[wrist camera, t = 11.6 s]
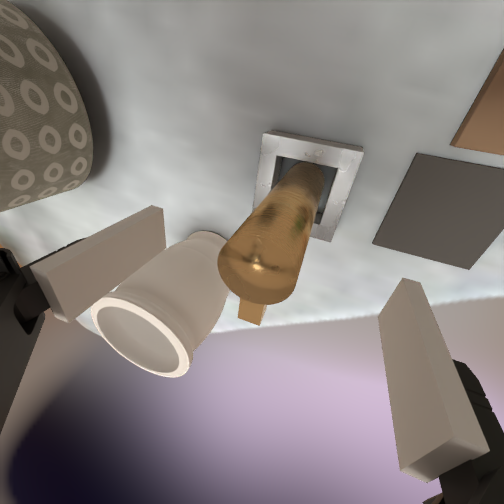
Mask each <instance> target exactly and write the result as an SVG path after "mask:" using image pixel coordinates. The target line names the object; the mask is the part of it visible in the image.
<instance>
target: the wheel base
mask: <svg viewBox="0 0 504 504" xmlns="http://www.w3.org/2000/svg"><path fill="white" fill-rule="evenodd" d="M450 145H451V146H454V147H459V148H464V149H470V150H476V151H482V152H487V153H493V154H499V155H504V49H503V51H502V53H501V55H500V56H499V58H498V60H497V62H496V63H495V65H494V67H493V69H492V71H491V72H490V74H489V76H488V78H487V80H486V81H485V83H484V85H483V87H482V88H481V90H480V92H479V94H478V96H477V97H476V99H475V101H474V103H473V105H472V106H471V108H470V110H469V112H468V113H467V115H466V117H465V119H464V121H463V122H462V124H461V126H460V128H459V129H458V131H457V133H456V135H455V137H454V138H453V140H452V142H451V144H450Z"/></svg>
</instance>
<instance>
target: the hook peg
mask: <svg viewBox="0 0 504 504" xmlns="http://www.w3.org/2000/svg"><path fill="white" fill-rule="evenodd" d="M323 188H324V175H323V173H322V171H321V170H320V169H319V167H317V166H316V165H314V164H312V163H308V162H302V163H298V164H296V165H294V166H293V167H292V168H291V169H290V170H289V171H288V172H287V173H286V174H285V175H284V177H283V178H282V179H281V180H280V181H279V182H278V184H277V185H276V186H275V187H274V188H273V189H272V190H271V192H270V193H269V194H268V195H267V196H266V197H265V199H264V200H263V201H262V202H261V203H260V204H259V205H258V207H257V208H256V209H255V210H254V211H253V212H252V214H251V215H250V216H249V217H248V218H247V219H246V220H245V222H244V223H243V224H242V225H241V226H240V227H239V229H238V230H237V231H236V232H235V233H234V234H233V236H232V237H231V238H230V239H229V240H228V241H227V242H226V244H225V245H224V246H223V247H222V249H221V250H220V252H219V255H218V260H217V266H218V271H219V274H220V276H221V278H222V280H223V282H224V283H225V284H226V286H227V287H228V288H229V289H230V290H231V291H232V292H233V293H235V294H236V295H237V296H239V297H240V304H239V312H238V318H240V319H242V320H245V321H248V322H250V323H253V324H256V325H259V326H260V323H261V321H262V318H263V316H264V313H265V311H266V307H267V305H271V304H276V303H279V302H282V301H283V300H285V299H287V298H288V297H289V296H290V295H291V294H292V292H293V291H294V288H295V286H296V282H297V279H298V275H299V272H300V268H301V265H302V261H303V258H304V254H305V251H306V247H307V244H308V240H309V237H310V233H311V230H312V226H313V223H314V219H315V216H316V212H317V209H318V205H319V202H320V198H321V195H322V191H323Z"/></svg>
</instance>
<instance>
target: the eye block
mask: <svg viewBox="0 0 504 504" xmlns="http://www.w3.org/2000/svg"><path fill="white" fill-rule="evenodd" d="M363 155H364V150H363V147H360V146H355V145H349V144H344V143H339V142H333V141H328V140H323V139H317V138H312V137H307V136H301V135H296V134H291V133H285V132H280V131H275V130H271V131H268V132H265V133H263V137H262V144H261V152H260V159H259V166H258V174H257V181H256V188H255V196H254V203H253V210H252V212H253V211H254V210H255V209H256V208H257V207H258V205H259V204H260V203H261V202H262V201H263V200H264V199H265V197H266V196H267V195H268V194H269V193H270V192H271V190H272V189H273V188H274V187H275V186H276V185H277V184H278V178H279V173H280V168H281V163H282V157H288V158H293V159H297V160H302V161H307V162H312V163H317V164H321V165H326V166H331V167H336V168H337V171H336V174H335V177H334V180H333V183H332V186H331V189H330V192H329V195H328V198H327V201H326V205H325V208H324V211H323V213H320V212H316V216H315V219H314V223H313V226H312V230H311V233H310V237H313V238H317V239H321V240H324V241H328V242H331V240H332V238H333V235H334V232H335V230H336V227H337V224H338V222H339V219H340V216H341V214H342V211H343V208H344V206H345V203H346V200H347V198H348V195H349V192H350V190H351V187H352V184H353V182H354V179H355V176H356V174H357V171H358V168H359V166H360V163H361V160H362V158H363Z"/></svg>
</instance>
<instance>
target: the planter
mask: <svg viewBox="0 0 504 504" xmlns="http://www.w3.org/2000/svg"><path fill="white" fill-rule="evenodd" d="M92 161H93V139H92V132H91V127H90V123H89V118H88V115H87V112H86V109H85V105H84V103H83V100H82V97H81V95H80V93H79V90H78V88H77V86H76V84H75V82H74V80H73V78H72V76H71V74H70V72H69V70H68V68H67V67H66V65H65V63H64V61H63V60H62V58H61V57H60V55H59V54H58V52H57V51H56V49H55V48H54V46H53V45H52V44H51V42H50V41H49V40H48V38H47V37H46V36H45V35H44V33H43V32H42V31H41V30H40V29H39V28H38V27H37V26H36V24H35V23H34V22H33V21H32V20H31V19H30V18H29V17H28V16H26V15H25V14H24V13H23V12H22V11H21V10H19V9H18V8H17V7H16V6H14V5H13V4H11V3H10V2H9V1H7V0H0V212H2V211H6V210H9V209H12V208H15V207H18V206H21V205H25V204H28V203H31V202H34V201H37V200H40V199H44V198H47V197H50V196H53V195H56V194H59V193H62V192H66V191H69V190H72V189H75V188H77V187H79V186H80V185H81V184H83V182H84V181H85V180H86V179H87V177H88V175H89V173H90V170H91V167H92Z"/></svg>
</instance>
